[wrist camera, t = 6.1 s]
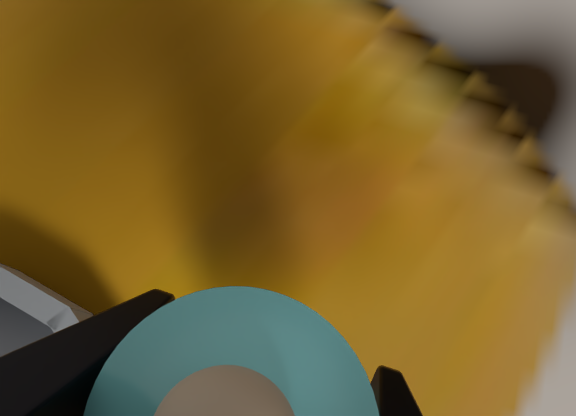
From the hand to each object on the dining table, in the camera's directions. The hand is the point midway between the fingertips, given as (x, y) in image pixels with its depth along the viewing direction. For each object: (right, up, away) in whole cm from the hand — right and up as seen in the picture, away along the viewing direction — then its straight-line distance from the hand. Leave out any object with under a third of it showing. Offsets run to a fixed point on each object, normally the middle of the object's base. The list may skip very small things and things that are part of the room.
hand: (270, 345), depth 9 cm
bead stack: (0, -3, +6) cm, 7 cm away
